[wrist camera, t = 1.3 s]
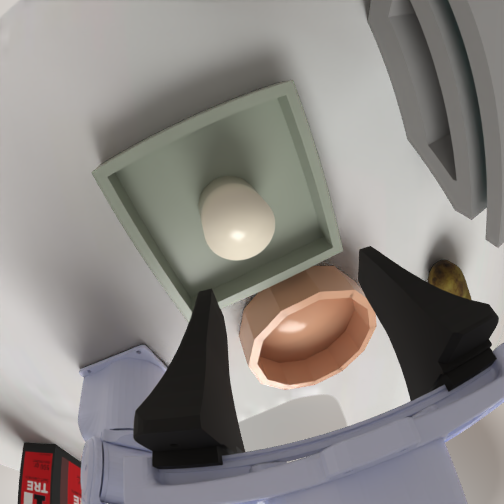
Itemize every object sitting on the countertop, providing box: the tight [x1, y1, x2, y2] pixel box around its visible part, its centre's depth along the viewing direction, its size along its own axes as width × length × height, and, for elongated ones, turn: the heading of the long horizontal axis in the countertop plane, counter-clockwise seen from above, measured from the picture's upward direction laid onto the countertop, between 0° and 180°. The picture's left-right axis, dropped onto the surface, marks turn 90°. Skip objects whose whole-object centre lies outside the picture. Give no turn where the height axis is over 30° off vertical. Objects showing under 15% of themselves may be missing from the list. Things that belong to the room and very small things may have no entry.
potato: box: [428, 260, 471, 300], centre depth 31 cm, size 8×13×8 cm, turn 10°
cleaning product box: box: [18, 443, 82, 504], centre depth 29 cm, size 16×9×20 cm, turn 9°
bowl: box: [239, 266, 376, 390], centre depth 28 cm, size 13×13×4 cm
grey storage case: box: [368, 0, 504, 247], centre depth 15 cm, size 25×8×11 cm, turn 25°
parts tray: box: [92, 80, 343, 323], centre depth 21 cm, size 14×14×3 cm
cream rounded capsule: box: [198, 176, 275, 260], centre depth 20 cm, size 4×4×4 cm
